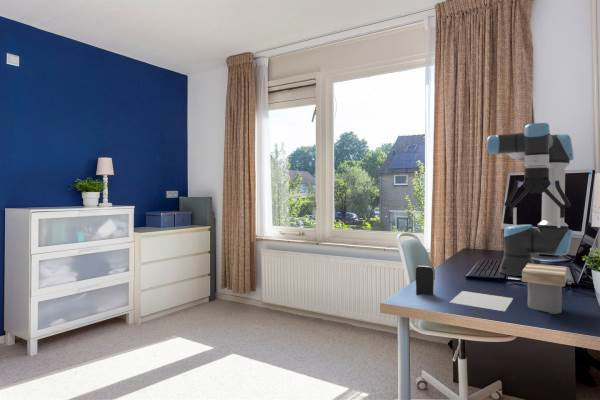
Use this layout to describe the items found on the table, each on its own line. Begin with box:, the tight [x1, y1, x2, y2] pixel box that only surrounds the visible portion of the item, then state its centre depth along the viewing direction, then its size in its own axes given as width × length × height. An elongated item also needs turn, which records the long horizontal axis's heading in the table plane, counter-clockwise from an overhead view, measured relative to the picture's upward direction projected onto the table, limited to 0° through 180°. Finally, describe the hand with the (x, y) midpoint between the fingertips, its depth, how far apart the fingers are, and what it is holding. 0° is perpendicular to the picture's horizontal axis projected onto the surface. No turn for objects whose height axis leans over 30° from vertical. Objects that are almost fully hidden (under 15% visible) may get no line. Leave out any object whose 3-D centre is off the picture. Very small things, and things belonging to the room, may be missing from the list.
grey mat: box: [449, 290, 514, 313], centre depth 143 cm, size 18×18×1 cm
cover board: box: [521, 263, 568, 288], centre depth 135 cm, size 16×12×4 cm
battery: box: [415, 264, 436, 296], centre depth 153 cm, size 7×4×11 cm, turn 58°
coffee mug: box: [527, 282, 563, 315], centre depth 135 cm, size 13×10×10 cm
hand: (536, 226), depth 141 cm, fingers open, 13 cm apart
